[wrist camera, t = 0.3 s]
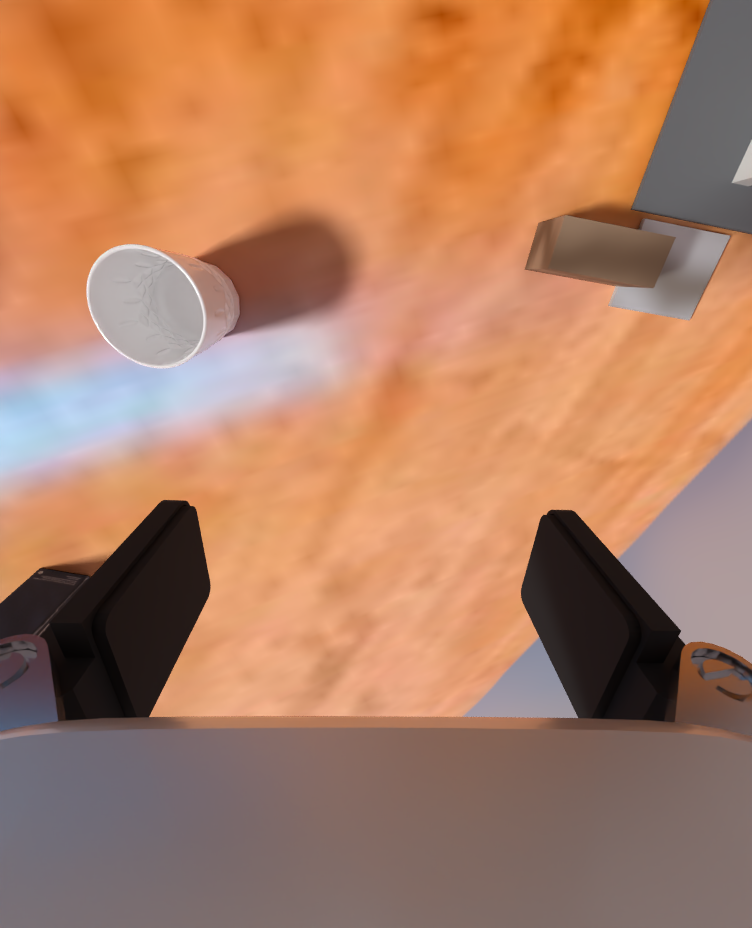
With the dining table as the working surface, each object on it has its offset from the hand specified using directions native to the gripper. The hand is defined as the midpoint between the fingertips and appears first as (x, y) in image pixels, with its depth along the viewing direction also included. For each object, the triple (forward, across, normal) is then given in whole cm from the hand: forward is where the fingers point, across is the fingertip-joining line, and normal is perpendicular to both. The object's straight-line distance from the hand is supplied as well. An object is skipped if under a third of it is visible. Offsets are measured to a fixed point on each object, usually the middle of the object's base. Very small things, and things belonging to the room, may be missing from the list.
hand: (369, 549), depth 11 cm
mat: (+30, -31, -19) cm, 47 cm away
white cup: (+30, +15, -4) cm, 34 cm away
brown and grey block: (+30, -22, -9) cm, 39 cm away
